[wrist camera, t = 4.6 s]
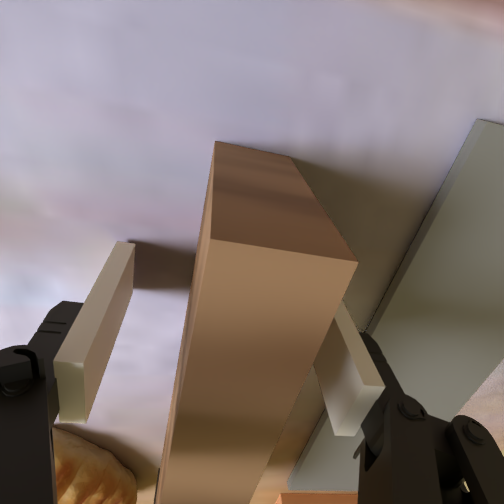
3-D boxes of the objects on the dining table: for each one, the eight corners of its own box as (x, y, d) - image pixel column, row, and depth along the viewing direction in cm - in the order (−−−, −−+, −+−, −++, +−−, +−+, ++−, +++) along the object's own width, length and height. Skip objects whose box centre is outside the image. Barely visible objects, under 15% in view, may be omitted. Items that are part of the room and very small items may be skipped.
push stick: (212, 139, 13) (204, 237, 6) (290, 156, 14) (363, 262, 7) (159, 462, 24) (136, 623, 17) (203, 463, 25) (197, 620, 18)
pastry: (163, 463, 25) (154, 527, 21) (107, 499, 27) (91, 562, 23) (42, 413, 20) (8, 482, 17) (-13, 459, 23) (-52, 529, 19)
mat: (477, 118, 13) (487, 121, 13) (649, 162, 15) (664, 166, 14) (287, 481, 27) (288, 489, 26) (387, 483, 28) (391, 491, 28)
